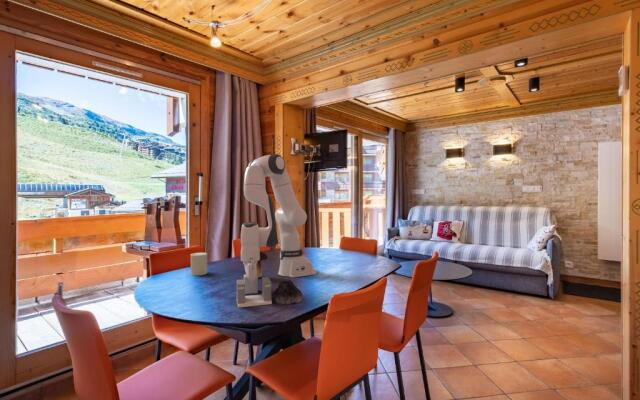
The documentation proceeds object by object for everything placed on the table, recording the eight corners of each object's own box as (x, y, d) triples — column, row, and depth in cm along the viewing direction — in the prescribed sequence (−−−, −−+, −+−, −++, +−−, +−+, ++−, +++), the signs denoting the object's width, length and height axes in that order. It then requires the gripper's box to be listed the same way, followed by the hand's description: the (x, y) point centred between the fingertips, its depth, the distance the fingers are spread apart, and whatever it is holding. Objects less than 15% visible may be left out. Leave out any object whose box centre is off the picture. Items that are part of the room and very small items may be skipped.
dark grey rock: (288, 294, 151) (286, 273, 150) (310, 298, 142) (308, 275, 142) (267, 304, 140) (264, 282, 140) (289, 309, 132) (286, 285, 131)
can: (191, 272, 190) (190, 252, 190) (207, 271, 193) (207, 251, 193) (189, 276, 182) (189, 255, 181) (207, 274, 184) (206, 254, 184)
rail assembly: (268, 295, 146) (267, 276, 146) (271, 303, 136) (271, 282, 136) (236, 299, 142) (236, 278, 142) (237, 307, 132) (237, 285, 131)
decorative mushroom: (264, 280, 172) (264, 252, 172) (245, 279, 174) (244, 252, 173) (270, 275, 183) (270, 249, 182) (252, 274, 184) (252, 248, 184)
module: (256, 289, 156) (256, 273, 155) (257, 292, 151) (257, 275, 151) (243, 291, 154) (243, 274, 154) (244, 294, 149) (244, 276, 149)
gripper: (259, 260, 143) (259, 291, 143) (254, 252, 162) (254, 279, 163) (245, 261, 141) (245, 292, 141) (242, 253, 161) (242, 280, 161)
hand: (250, 285), depth 152 cm, fingers closed on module, 5 cm apart
